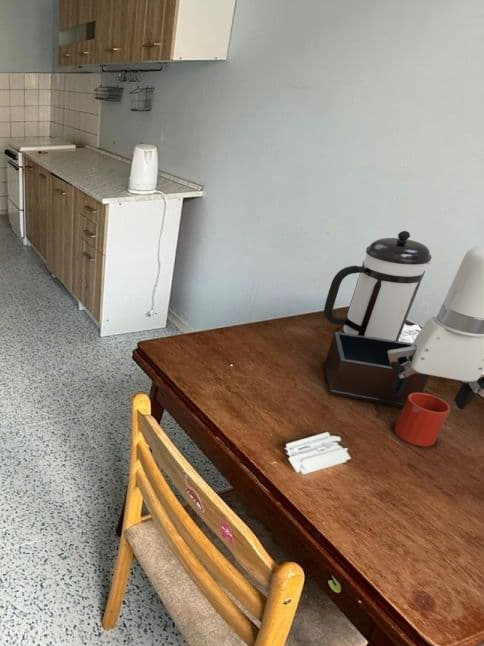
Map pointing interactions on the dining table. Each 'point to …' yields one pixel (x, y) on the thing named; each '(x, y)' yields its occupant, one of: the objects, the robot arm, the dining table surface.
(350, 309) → the coffee press
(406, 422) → the cup
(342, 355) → the dark open box
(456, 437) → the dining table surface
